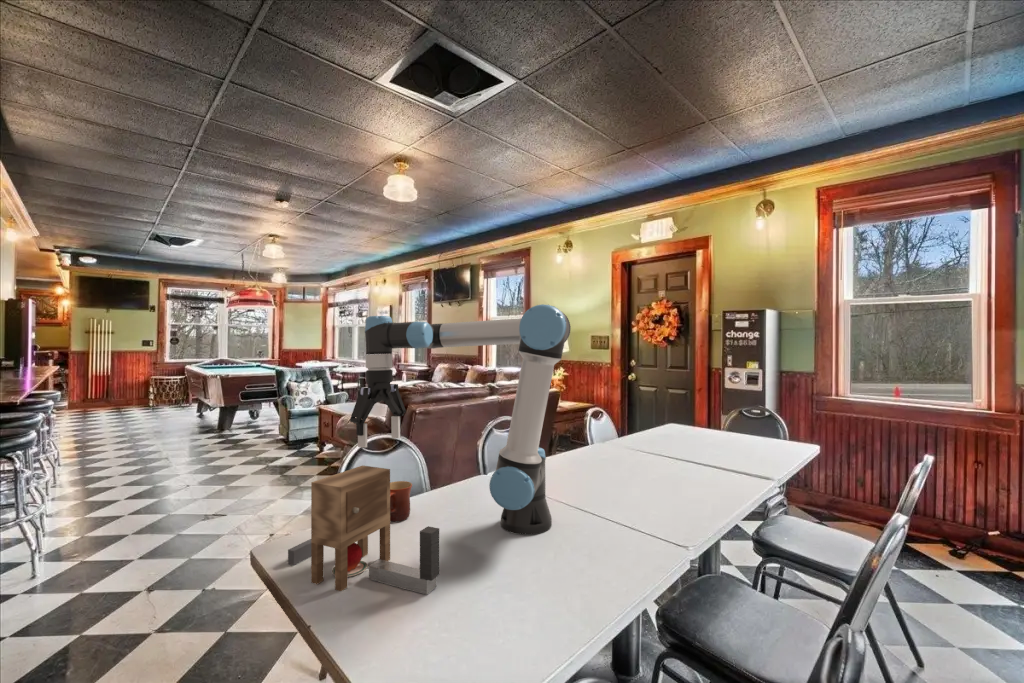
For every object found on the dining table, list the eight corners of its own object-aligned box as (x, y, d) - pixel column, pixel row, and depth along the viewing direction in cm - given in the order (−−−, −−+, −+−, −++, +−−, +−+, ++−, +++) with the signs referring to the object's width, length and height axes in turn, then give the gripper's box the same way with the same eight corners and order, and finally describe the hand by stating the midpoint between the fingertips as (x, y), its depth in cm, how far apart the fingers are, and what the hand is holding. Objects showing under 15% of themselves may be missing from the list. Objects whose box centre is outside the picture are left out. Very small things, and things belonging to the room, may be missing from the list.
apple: (346, 582, 101) (346, 553, 101) (324, 573, 105) (324, 545, 105) (374, 567, 108) (374, 540, 108) (352, 559, 112) (352, 533, 112)
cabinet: (394, 560, 111) (393, 469, 111) (345, 592, 96) (345, 488, 97) (362, 552, 115) (362, 465, 115) (311, 582, 101) (311, 482, 101)
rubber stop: (320, 551, 116) (320, 538, 116) (293, 565, 109) (293, 551, 109) (314, 550, 117) (314, 537, 117) (288, 563, 109) (288, 549, 109)
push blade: (440, 587, 98) (439, 528, 98) (430, 595, 95) (430, 534, 95) (379, 571, 105) (379, 516, 105) (368, 579, 102) (368, 521, 102)
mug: (391, 512, 144) (391, 480, 144) (416, 514, 142) (416, 481, 142) (372, 527, 132) (372, 492, 132) (400, 529, 130) (400, 493, 130)
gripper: (397, 367, 143) (398, 433, 142) (335, 371, 121) (336, 450, 120) (416, 367, 140) (417, 435, 139) (356, 371, 117) (357, 452, 117)
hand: (380, 442), depth 130 cm, fingers open, 13 cm apart
